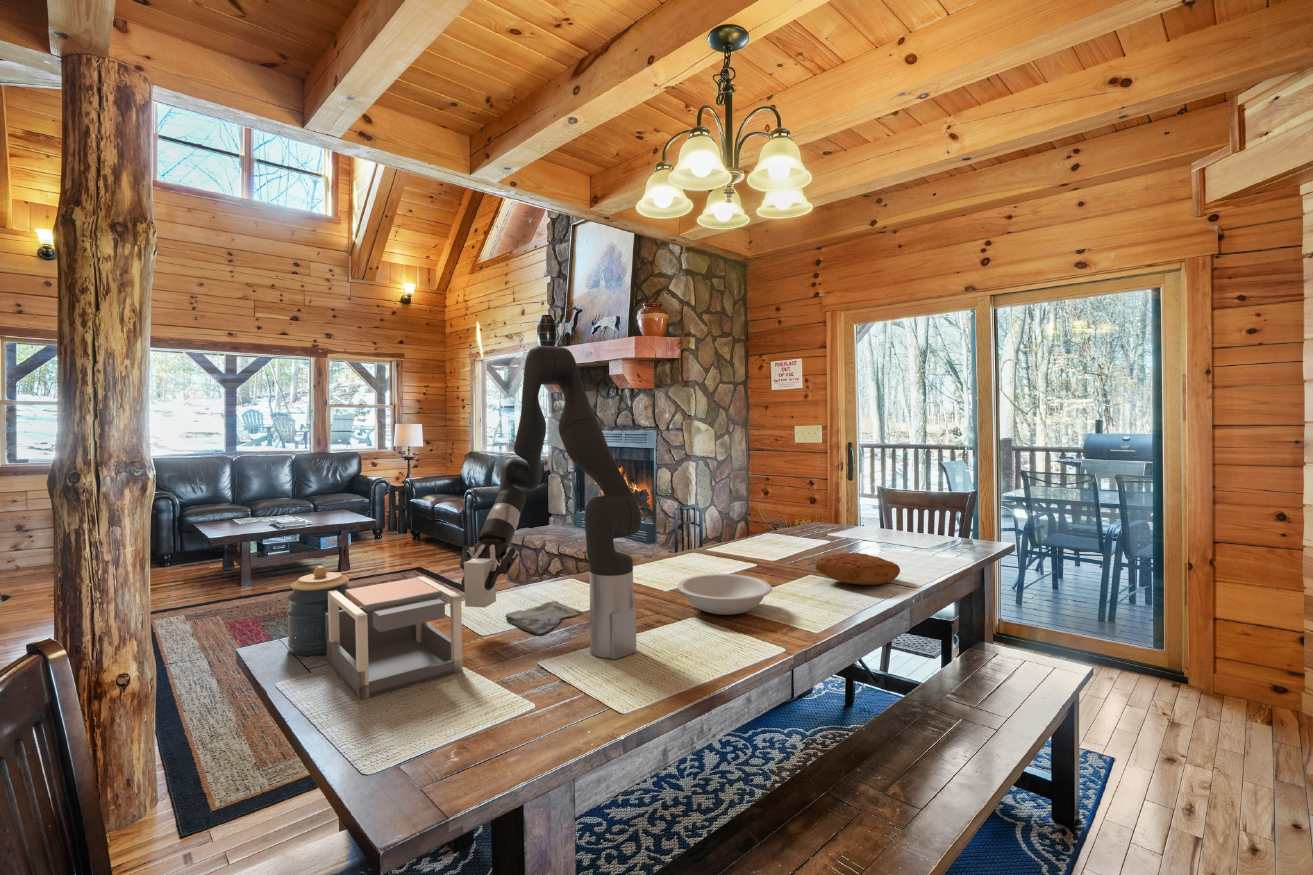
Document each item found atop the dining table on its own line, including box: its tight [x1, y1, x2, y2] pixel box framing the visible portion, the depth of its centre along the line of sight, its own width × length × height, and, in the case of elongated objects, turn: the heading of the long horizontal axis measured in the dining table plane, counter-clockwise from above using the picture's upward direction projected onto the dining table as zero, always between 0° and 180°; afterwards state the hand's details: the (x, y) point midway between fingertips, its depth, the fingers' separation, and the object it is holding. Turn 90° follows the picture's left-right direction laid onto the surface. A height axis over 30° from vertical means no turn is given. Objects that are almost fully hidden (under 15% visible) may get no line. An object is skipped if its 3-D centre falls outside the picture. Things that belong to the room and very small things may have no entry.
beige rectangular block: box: [463, 558, 497, 608], centre depth 143 cm, size 5×5×10 cm
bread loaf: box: [815, 552, 901, 586], centre depth 186 cm, size 22×17×8 cm
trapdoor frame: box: [325, 575, 463, 701], centre depth 126 cm, size 24×19×15 cm
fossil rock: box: [505, 600, 584, 636], centre depth 154 cm, size 18×15×2 cm
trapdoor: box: [345, 577, 446, 632], centre depth 123 cm, size 18×14×4 cm
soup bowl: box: [677, 573, 773, 616], centre depth 160 cm, size 24×24×7 cm
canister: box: [286, 565, 355, 657], centre depth 137 cm, size 13×13×18 cm
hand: (476, 587), depth 142 cm, fingers closed on beige rectangular block, 5 cm apart
